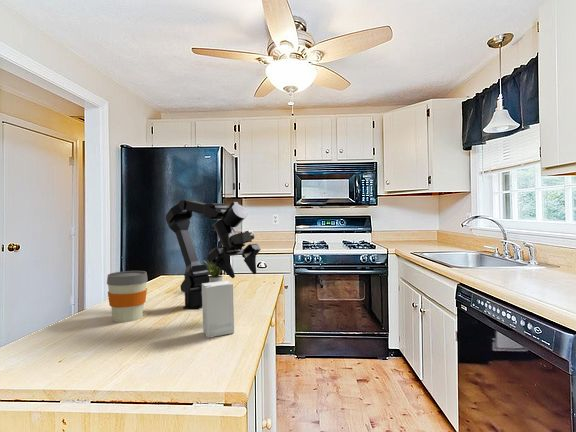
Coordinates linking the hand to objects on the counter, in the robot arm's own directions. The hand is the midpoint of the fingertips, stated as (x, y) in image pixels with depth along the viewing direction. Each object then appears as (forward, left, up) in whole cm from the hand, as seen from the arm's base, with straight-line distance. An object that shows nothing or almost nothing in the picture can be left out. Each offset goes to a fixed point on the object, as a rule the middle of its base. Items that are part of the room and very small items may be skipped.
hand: (244, 275), depth 114 cm
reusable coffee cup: (-40, 0, -15) cm, 43 cm away
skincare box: (-5, -11, -15) cm, 20 cm away
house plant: (-24, +44, -15) cm, 53 cm away
